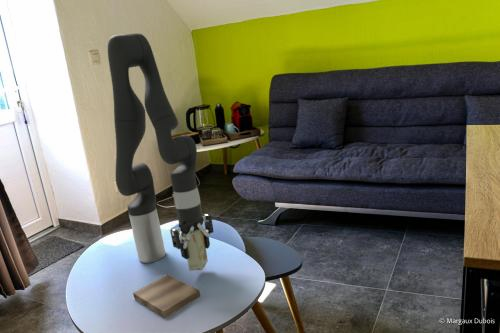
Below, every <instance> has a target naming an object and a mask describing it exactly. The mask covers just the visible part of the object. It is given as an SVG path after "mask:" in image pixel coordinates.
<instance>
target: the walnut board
mask: <svg viewBox="0 0 500 333" xmlns="http://www.w3.org/2000/svg"><path fill="white" fill-rule="evenodd" d="M132 295H133V298H135V299H134V300H135V301H137V300H138V303H140V302H141V304H144V306H145V307H146V308H148V309H149V310H152V311H153V312H155V313H156V314H158V315H159V316H161V317H162V318H164V319H166V318H167V317H169V316H171V315H172V314H174V313H175V312H177V311H179V310H180V309H182V308H184V307H185V306H187V305H189V304H190V303H192V302H194V301H195V300H197V299H199V298H201V292H200V289H198V288H196V287H193V286H191V285H190V284H188V283H186V282H183V281H182V280H180V279H178V278H176V277H173V276H172V275H169V274H166V275H164V276H161V277H160V278H158V279H156V280H154V281H152V282H151V283H148V284H147V285H144V286H143V287H141V288H139V289H137V290H136V291H133V293H132Z"/></svg>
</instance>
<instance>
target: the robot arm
mask: <svg viewBox="0 0 500 333" xmlns="http://www.w3.org/2000/svg"><path fill="white" fill-rule="evenodd" d="M107 59H108V60H107V61H108V65H109V72H110V77H111V85H112V96H113V115H114V116H113V118H114V119H113V120H114V131H115V149H116V152H115V153H116V156H115V158H116V159H115V182H116V187H117V190H118V192H119V193H120V195H122V196H124V197H130V196H133V195H135V197H134V199H133V200H131V202H129V204H128V205H127V212H128V217H129V221H130V225H131V228H132V229H131V230H132V235H133V236H132V237H133V239H134V243H135V247H136V252H137V258H138V260H139V262H140V263H146V264H148V263H153V262H154V263H155V262H157V261H159V260H162V259H163V258H164V257H165V256H166V250H165V243H164V239H163V235H162V229H161V223H160V219H159V215H158V210H157V203H156V202H157V197H156V190H155V184H154V183H155V182H154V178H153V174H152V172H151V169H150V168H149V166H148V164H146V163H144V162H139V163H134V158H135V155H136V152H137V150H138V148H139V146H140V144H141V143H142V140H143V138H144V136H145V133H146V128H147V127H146V126H147V124H146V123H147V122H146V114H147V116H148V117H149V120H150V122H151V124H152V126H153V128H154V131H155V132H154V133H155V138H156V142H157V143H156V144H157V148H158V152H159V155H160V157H161V159H162V161H163V162H164V163H167V164H168V165H176V164H178V166H177V167H176V168H175V169H173V171H172V172H171V173H170V180H171V186H172V192H173V201H174V207H175V212H176V217H177V221H178V226H177V227H175V228H171V229H170V230H169V232H170V237H171V242H172V246H173V248H176V249H177V250H180V253H181V254H180V255H181V257H182V258H183V259H185V260H187V259H189V254H188V248H187V244H188V241H190V234H191V233H192V232H193V231H195V230H198V229H200V230H201V232H202V233H203V235H204V241H205V247H206V250H208V249H210V245H211V241H210V234H212V233H214V226H213V225H214V224H213V218H212V215H211V214H208V213H204V214H203V210H202V209H203V208H202V203H201V198H200V197H201V196H200V192H199V189H198V185H197V178H196V174H195V173H196V168H197V154H198V153H197V152H198V150H197V145H196V142H195V140H194V139H193V138H192V137H191V136H190V135H189V134H182V135H179V136H175V137H172V136H173V135H172V131H173V130H175V129H176V128H178V126H179V121H178V117H177V116H176V113H175V112H174V109H173V107H172V105H171V103H170V101H169V99H168V97H167V94H166V91H165V88H164V85H163V82H162V79H161V76H160V71H159V69H158V65H157V62H156V59H155V55H154V52H153V50H152V47H151V44H150V41H149V40H148V38H146V36H145V35H143V34H142V33H138V32H135V33H123V34H116V35H115V34H114V35H112V36H110V38H109V39H108V41H107ZM137 67H138V68H140V70H141V72H142V74H143V76H144V82H145V84H144V86H145V87H144V88H145V89H144V90H145V91H144V104H143V103H142V101H141V100H140V98H139V97H138V95H137V94H136V92H135V91H134V89H133V88H132V86H131V81H130V74H129V73H130V72H129V70H130V68H137ZM203 223H204V224H203ZM203 225H204V226H203ZM184 233H185V234H187V236H186V238H185V237H183V234H184Z"/></svg>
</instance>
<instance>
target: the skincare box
mask: <svg viewBox="0 0 500 333" xmlns="http://www.w3.org/2000/svg"><path fill="white" fill-rule="evenodd" d="M186 236H187V234H185V233H184V234H183V237H185V238H186ZM187 248H188V254H189V259H186V260H187V265H188V270H189V272H191V271H203V269H205V267H206V265H207V263H208V261H209V259H208V254H207V248H206V247H205V241H204V235H203V233H202V232H201V230H200V229H198V230H195V231H193V232H192V233H191V234H190V241H188V244H187Z"/></svg>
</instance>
